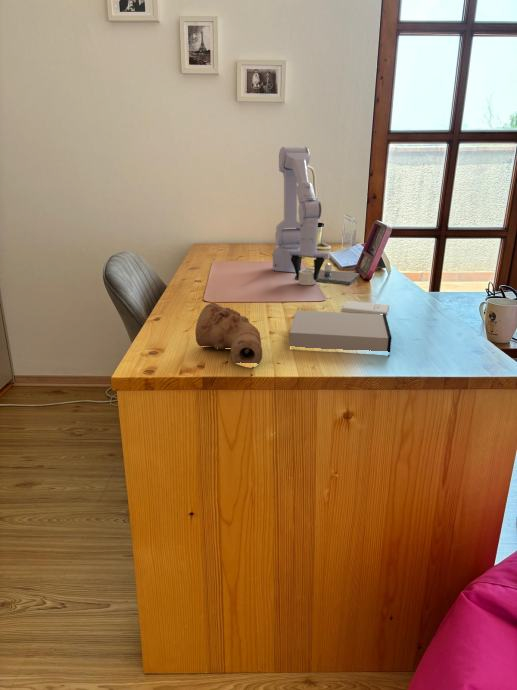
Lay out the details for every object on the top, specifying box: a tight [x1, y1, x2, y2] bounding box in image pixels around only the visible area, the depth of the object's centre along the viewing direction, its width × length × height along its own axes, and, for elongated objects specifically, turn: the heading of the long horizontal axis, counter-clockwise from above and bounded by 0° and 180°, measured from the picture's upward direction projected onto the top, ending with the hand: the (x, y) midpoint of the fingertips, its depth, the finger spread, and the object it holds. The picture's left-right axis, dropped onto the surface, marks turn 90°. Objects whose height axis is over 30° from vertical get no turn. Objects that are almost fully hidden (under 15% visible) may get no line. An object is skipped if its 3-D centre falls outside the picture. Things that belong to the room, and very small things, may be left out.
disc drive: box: [289, 310, 393, 353], centre depth 121 cm, size 18×22×5 cm
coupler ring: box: [297, 269, 316, 286], centre depth 173 cm, size 6×6×4 cm
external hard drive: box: [341, 300, 390, 316], centre depth 146 cm, size 2×8×12 cm
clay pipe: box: [194, 302, 263, 364], centre depth 112 cm, size 19×11×15 cm
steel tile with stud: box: [294, 262, 360, 285], centre depth 182 cm, size 20×14×5 cm
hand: (306, 278), depth 173 cm, fingers closed on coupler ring, 6 cm apart
